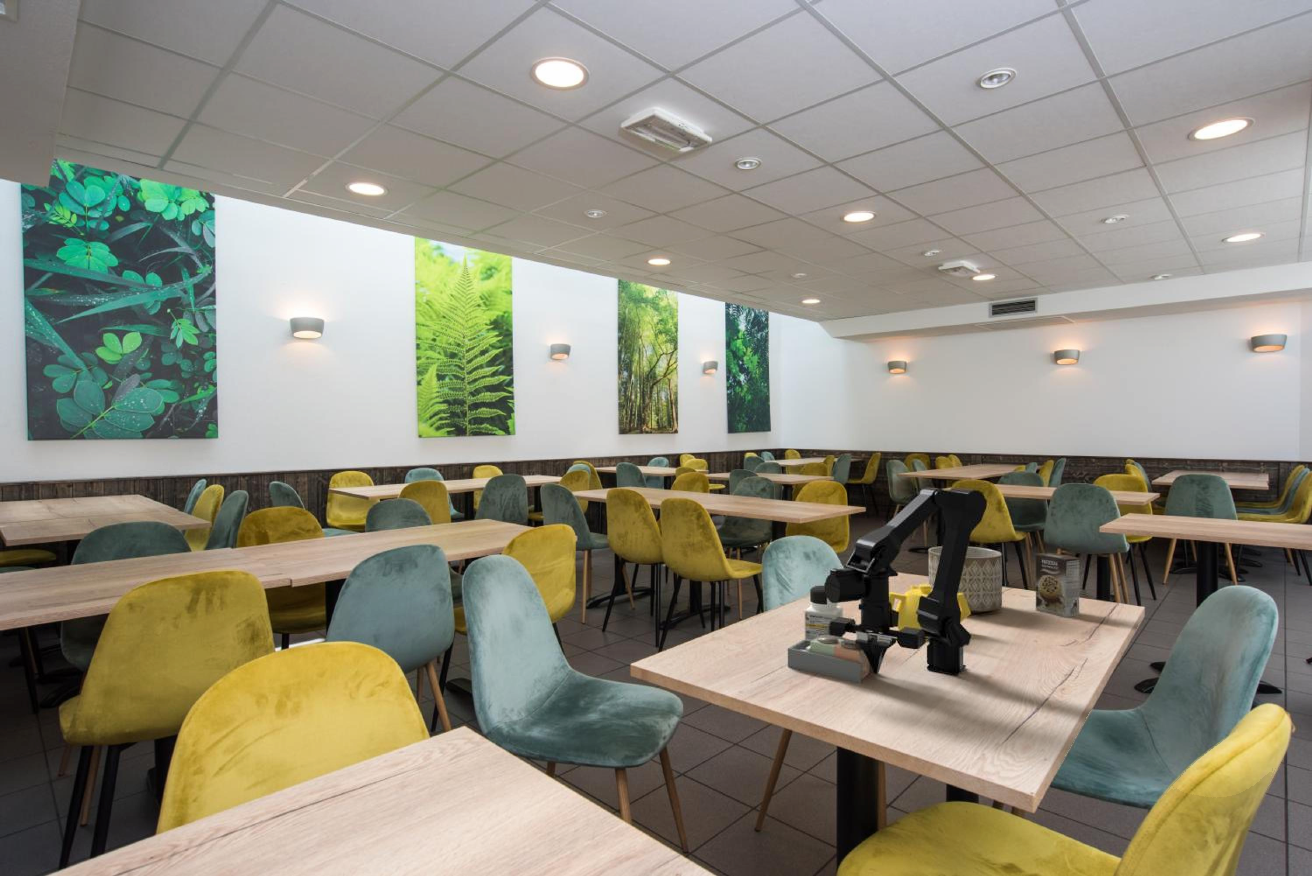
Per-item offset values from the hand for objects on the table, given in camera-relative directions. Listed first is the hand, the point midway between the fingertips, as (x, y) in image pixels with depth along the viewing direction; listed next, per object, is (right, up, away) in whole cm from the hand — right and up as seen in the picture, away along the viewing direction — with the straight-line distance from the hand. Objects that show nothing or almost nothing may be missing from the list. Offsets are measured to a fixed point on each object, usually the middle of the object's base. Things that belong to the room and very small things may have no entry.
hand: (876, 673), depth 140 cm
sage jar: (-8, -1, +7) cm, 11 cm away
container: (-4, -1, +28) cm, 28 cm away
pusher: (-12, -1, +10) cm, 16 cm away
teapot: (+24, -1, +34) cm, 41 cm away
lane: (-8, -1, +6) cm, 10 cm away
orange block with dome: (-4, -1, +3) cm, 6 cm away
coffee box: (+67, -1, +50) cm, 84 cm away
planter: (+44, -1, +56) cm, 71 cm away
